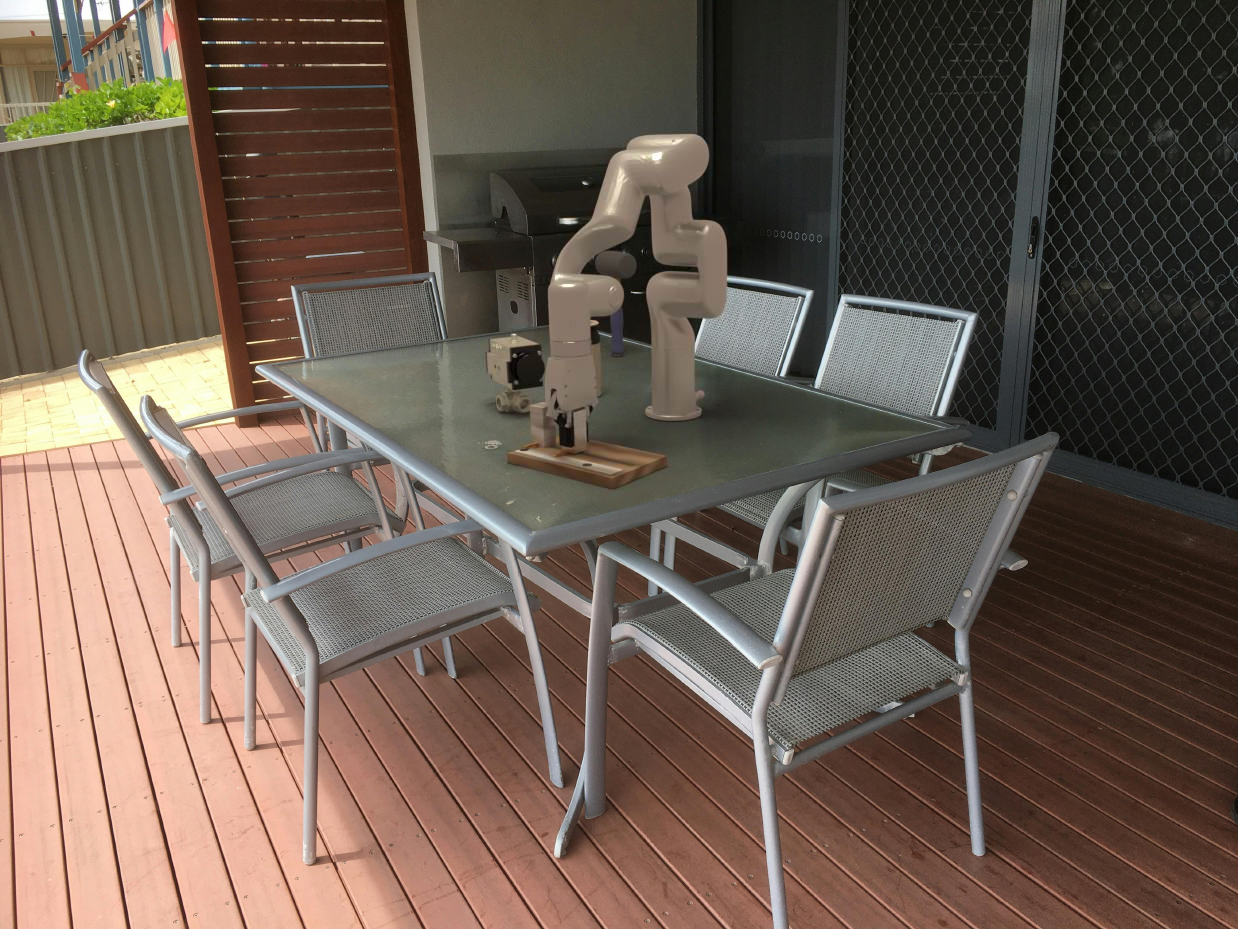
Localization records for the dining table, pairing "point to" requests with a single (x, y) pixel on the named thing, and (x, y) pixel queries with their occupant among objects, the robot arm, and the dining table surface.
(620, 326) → the rubber mallet
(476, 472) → the dining table surface
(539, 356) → the ball valve
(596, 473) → the rule board
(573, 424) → the sliding block with pointer
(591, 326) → the travel mug
